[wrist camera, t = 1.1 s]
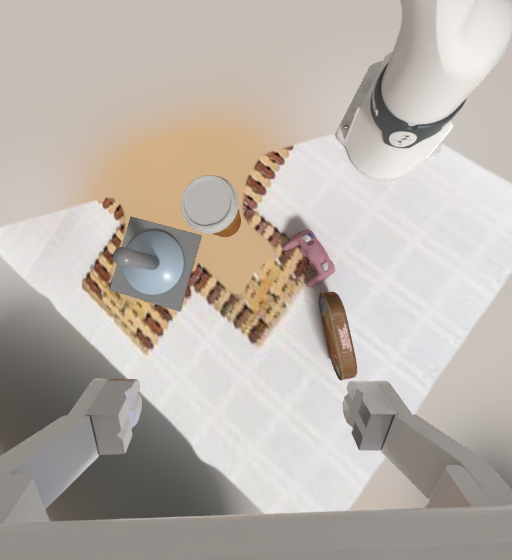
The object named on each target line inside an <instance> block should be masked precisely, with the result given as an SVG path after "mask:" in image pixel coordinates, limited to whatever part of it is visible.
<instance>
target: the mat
mask: <svg viewBox="0 0 512 560" xmlns="http://www.w3.org/2000/svg"><path fill="white" fill-rule="evenodd" d="M149 231H159V232H163V233H166V234H168V235H170V236H171V237H173V238H174V239H175V240H176V241H177V242H178V243H179V245H180V246H181V248H182V251H183V254H184V259H185V265H184V271H183V274H182V276H181V278H180V280H179V281H178V283H177V284H176V285H175V286H174V287H173V288H172V289H170V290H169V291H167V292H165V293H162V294H155V295H150V294H144V293H141V292H139V291H137V290H136V289H135V288H133V287H132V286H131V285H130V283H129V282H128V281H127V279H126V277H125V274H124V270H123V265H118V264H117V266H116V270H115V273H114V277H113V280H112V283H111V287H110V290H112V291H115V292H119V293H122V294H125V295H128V296H131V297H135V298H138V299H141V300H144V301H147V302H151V303H154V304H157V305H160V306H163V307H167V308H170V309H173V310H176V311H181V307H182V304H183V300H184V297H185V293H186V290H187V286H188V283H189V279H190V276H191V272H192V269H193V265H194V262H195V258H196V255H197V251H198V248H199V244H200V240H201V237H202V236H201V235H198V234H194V233H190V232H187V231H183V230H179V229H175V228H172V227H168V226H164V225H160V224H156V223H153V222H149V221H145V220H142V219H138V218H134V217H130V221H129V224H128V228H127V231H126V235H125V238H124V242H123V245H122V247H124V248H127V247H128V245H129V244H130V242H131V241H132V240H133V239H134V238H135V237H137V236H138V235H140V234H142V233H145V232H149Z"/></svg>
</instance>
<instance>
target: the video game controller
mask: <svg viewBox="0 0 512 560" xmlns="http://www.w3.org/2000/svg"><path fill="white" fill-rule="evenodd" d="M297 245H300V246H301V248H300V251H301V253H302V255H303V256H305V257H308V259H309V260H310V262H309V264H310V267H311V268H312V269H313V270H315V271H317V274H316V275H315V276H314V277H313V278H311V279H310V280H309V281H308V282H307V284H306V286H307V287H311V286H314V285H316V284H318V283H320V282H322V281H323V280H325V279H326V278H327V277H329V276H330V275H331V274H333V273H334V271H335V268H334V264H333V262H332V261H331V260H330V259H329V257H328V255H327V253H326V251H325V249H324V248H323V246H322V245H321V244H320V242H319V241H318V240H317V239H316V237H315V235H314V233H313V232H312V231H310V230H308V229H307V230H304V231H302V232H300V233H298V234H296V235H295V236H294V237H292V238H291V239H290V240H289V241H288V242H287V243H286V244H285V245H284V246H283V250H285V251H286V250H289V249H291V248H293V247H295V246H297Z"/></svg>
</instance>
